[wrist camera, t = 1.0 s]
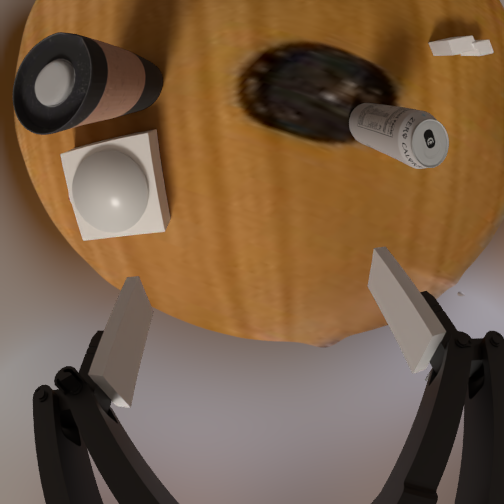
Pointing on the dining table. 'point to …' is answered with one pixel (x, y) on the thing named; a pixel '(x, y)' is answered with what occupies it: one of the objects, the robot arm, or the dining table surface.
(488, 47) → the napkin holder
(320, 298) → the dining table surface
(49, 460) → the robot arm
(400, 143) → the energy drink can
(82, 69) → the travel mug
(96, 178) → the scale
